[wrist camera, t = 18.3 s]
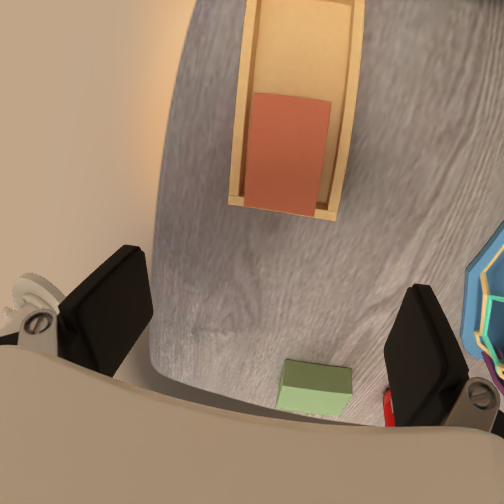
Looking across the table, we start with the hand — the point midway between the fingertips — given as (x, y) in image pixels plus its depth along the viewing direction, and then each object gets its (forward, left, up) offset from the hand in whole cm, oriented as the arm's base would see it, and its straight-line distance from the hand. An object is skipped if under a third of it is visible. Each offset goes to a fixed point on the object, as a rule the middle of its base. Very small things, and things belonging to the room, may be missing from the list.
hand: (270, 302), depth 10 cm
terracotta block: (-1, +3, -16) cm, 16 cm away
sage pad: (+6, -23, -16) cm, 28 cm away
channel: (-1, +7, -16) cm, 18 cm away
